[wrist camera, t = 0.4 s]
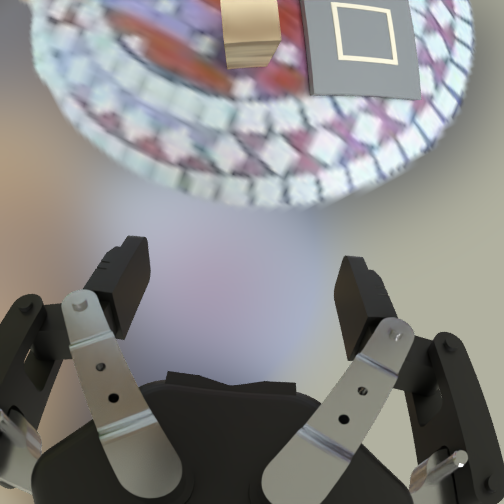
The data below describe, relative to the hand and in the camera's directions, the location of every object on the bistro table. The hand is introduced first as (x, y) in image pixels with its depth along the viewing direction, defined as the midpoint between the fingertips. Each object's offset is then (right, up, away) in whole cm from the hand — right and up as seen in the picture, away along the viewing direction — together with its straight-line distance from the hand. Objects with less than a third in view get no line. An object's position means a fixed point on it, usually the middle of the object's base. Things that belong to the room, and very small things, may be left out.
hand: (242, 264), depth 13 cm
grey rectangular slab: (+13, +27, +18) cm, 35 cm away
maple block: (0, +23, +18) cm, 30 cm away
